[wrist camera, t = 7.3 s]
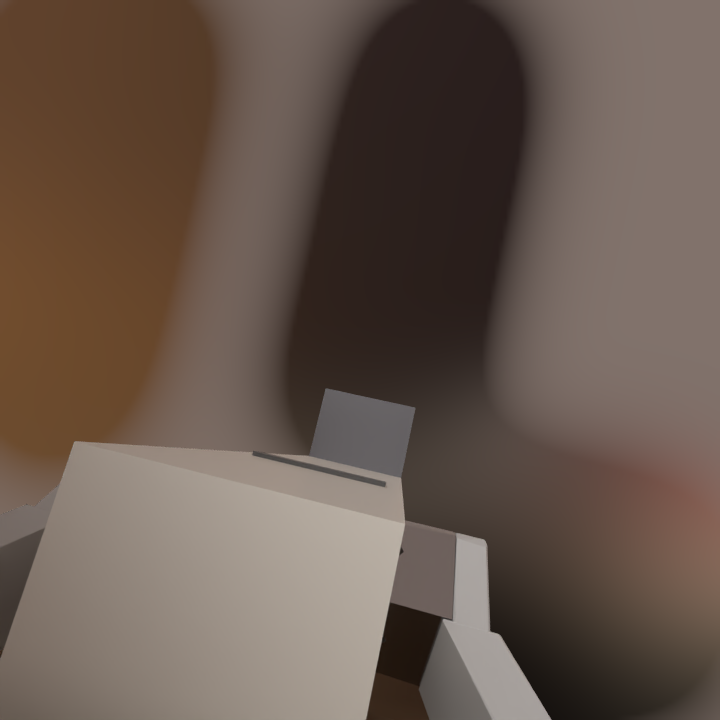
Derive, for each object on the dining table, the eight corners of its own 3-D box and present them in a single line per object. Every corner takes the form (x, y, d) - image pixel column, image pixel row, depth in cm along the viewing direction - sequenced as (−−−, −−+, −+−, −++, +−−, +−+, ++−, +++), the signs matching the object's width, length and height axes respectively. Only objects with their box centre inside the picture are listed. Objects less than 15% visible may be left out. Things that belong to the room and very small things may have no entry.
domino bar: (-21, 719, 5) (152, 214, 6) (313, 514, 25) (339, 402, 26) (341, 842, 5) (456, 269, 6) (388, 533, 24) (412, 418, 25)
